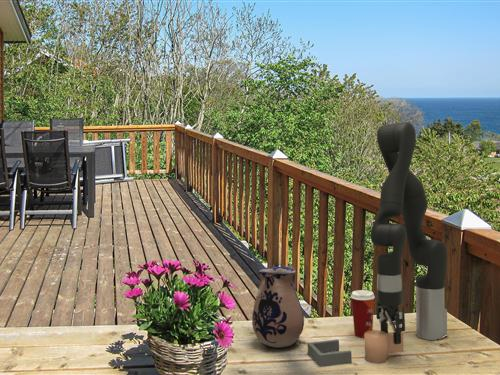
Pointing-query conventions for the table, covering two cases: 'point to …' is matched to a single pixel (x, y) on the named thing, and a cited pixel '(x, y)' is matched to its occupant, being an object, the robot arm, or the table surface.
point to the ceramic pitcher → (277, 308)
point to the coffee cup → (362, 311)
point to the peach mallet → (380, 346)
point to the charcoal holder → (328, 358)
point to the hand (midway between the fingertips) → (390, 339)
